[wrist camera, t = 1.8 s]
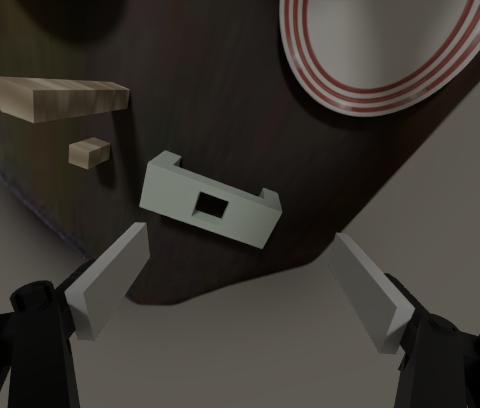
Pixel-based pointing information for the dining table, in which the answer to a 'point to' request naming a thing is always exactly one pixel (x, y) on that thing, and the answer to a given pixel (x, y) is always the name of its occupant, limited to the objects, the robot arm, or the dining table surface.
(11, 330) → the robot arm
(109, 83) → the tall pin
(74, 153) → the short pin
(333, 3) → the dinner plate
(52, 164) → the dining table surface
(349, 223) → the dining table surface
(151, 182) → the bridge
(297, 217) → the dining table surface
